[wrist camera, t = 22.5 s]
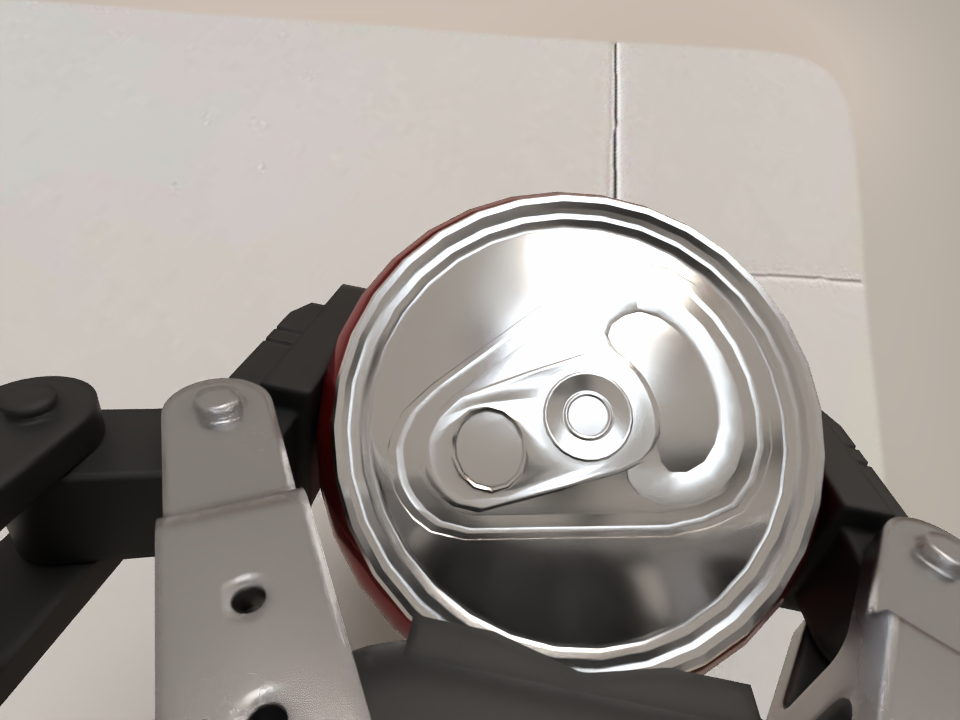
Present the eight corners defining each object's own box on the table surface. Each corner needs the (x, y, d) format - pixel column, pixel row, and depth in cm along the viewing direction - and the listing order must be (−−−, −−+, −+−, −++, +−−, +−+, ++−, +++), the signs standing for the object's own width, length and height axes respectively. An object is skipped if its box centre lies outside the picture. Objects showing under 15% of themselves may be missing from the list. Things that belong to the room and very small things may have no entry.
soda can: (576, 338, 20) (743, 130, 8) (634, 538, 18) (945, 635, 7) (382, 383, 19) (262, 225, 7) (425, 594, 18) (361, 810, 6)
